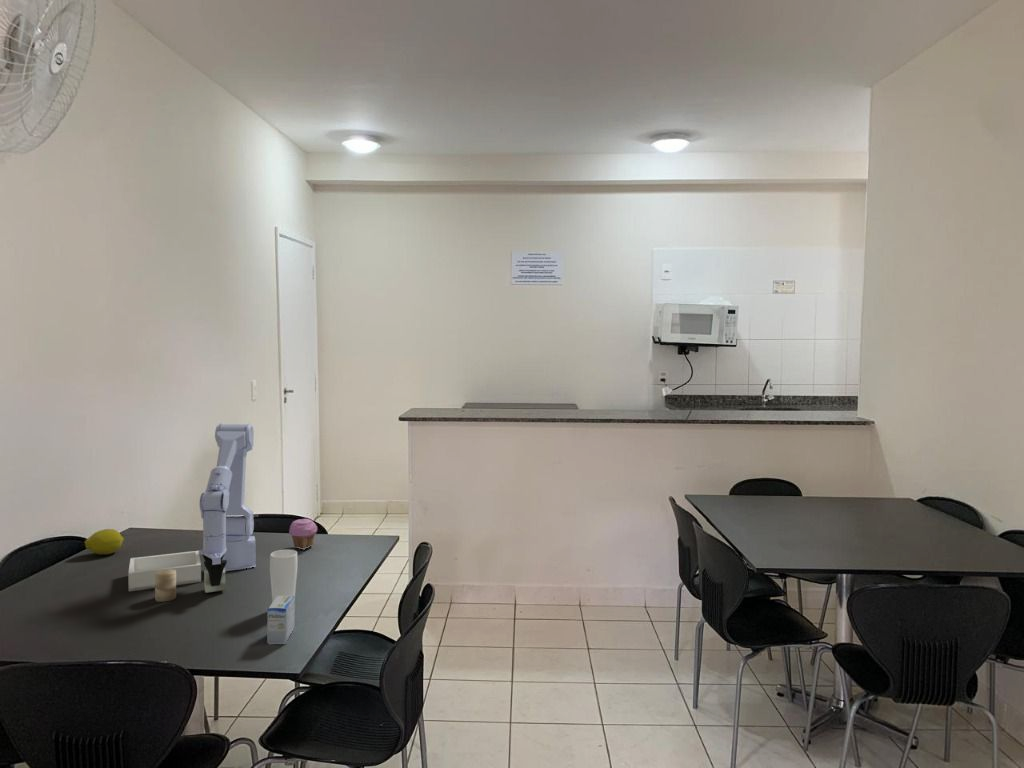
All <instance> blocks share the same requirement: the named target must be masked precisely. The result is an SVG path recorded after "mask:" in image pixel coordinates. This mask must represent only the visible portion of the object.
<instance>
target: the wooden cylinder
mask: <svg viewBox="0 0 1024 768" xmlns="http://www.w3.org/2000/svg"><path fill="white" fill-rule="evenodd" d="M154 598H155V602H158V603H159V602H160V603H162V602H163V603H164V602H170V601H173V600H175V599H176V598H177V585H176V570H173V569H166V570H161V571H158V572H156V573H155V588H154Z"/></svg>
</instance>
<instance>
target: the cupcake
mask: <svg viewBox="0 0 1024 768" xmlns="http://www.w3.org/2000/svg"><path fill="white" fill-rule="evenodd" d="M288 530H289V531H288V533H289V535H290V536H291V538H292V542H293V546H294V548H295V547H300V548H305V547H308V546H310V545H313V546H314V539H315V535H316V534H317V532H318V526H317V524H316V523H315V522H314V521H312V519H309V518H302V519H300V518H299V519H296V520H293V521H292V522H291V524H290V526H289V529H288Z"/></svg>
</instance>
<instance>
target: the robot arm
mask: <svg viewBox="0 0 1024 768" xmlns="http://www.w3.org/2000/svg"><path fill="white" fill-rule="evenodd" d="M254 435H255V434H254V427H253V425H252V424H251V423H247V424H245V423H242V424H241V423H240V424H237V423H236V424H235V423H219V424H218V425H217V426H216V427H215V432H214V438H215V442H216V445H217V448H219V449H218V456H217V461H216V467H214V468H212V469H211V470H210V475H209V477H208V478H209V479H208V481H207V485H206V488H205V491H204V492H202V493H201V494H200V496H199V511H200V517H201V519H202V521H203V522H202V534H203V535H202V540H203V541H202V543H203V544H202V546H203V547H202V549H199V550H198V551H199V556H201V555H202V558H203V560H204V561H203V564H204V567H205V569H207V570H208V573H209V578H210V583H211V586H219V585H220V582H221V577H222V573H223V569H225V572H229V571H237V570H245V569H246V568H247V569H253V568H252V567H254V568H256V567H257V566H256V565H257V564H256V562H257V561H256V559H257V553H256V550H257V549H256V537H255V535H253V532H254V527H255V523H254V512H253V511H252V510H251V509H250V508H249V507H247V505H245V487H246V466H247V465H246V464H247V461H246V460H247V454H248V452H250V451H252V450H253V447H254Z"/></svg>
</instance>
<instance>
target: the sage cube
mask: <svg viewBox="0 0 1024 768" xmlns="http://www.w3.org/2000/svg"><path fill="white" fill-rule="evenodd" d="M203 571H204V572H203V573H204V574H203V575H204V577H203V580H204V581H203V582H204V584H203V585H204V592H205V593H213V592H220V591H221V592H222V591H226V571H225V569H223V573H222V577H221V582H220V585H219V586H211V583H210V578H209V573H208V570H207V568H204V569H203Z"/></svg>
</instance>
